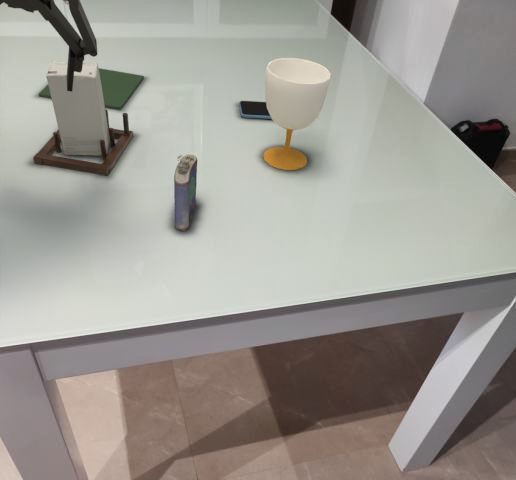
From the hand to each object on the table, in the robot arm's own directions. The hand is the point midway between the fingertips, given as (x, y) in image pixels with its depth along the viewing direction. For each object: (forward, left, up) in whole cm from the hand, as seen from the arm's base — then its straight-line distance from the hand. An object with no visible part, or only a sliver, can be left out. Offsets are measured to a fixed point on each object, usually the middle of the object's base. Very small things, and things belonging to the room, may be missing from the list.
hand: (21, 75), depth 78 cm
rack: (+3, +12, -17) cm, 21 cm away
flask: (+26, -4, -17) cm, 32 cm away
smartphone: (+36, +41, -17) cm, 57 cm away
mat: (-5, +39, -17) cm, 43 cm away
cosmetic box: (+3, +12, -17) cm, 21 cm away
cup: (+41, +21, -17) cm, 49 cm away
